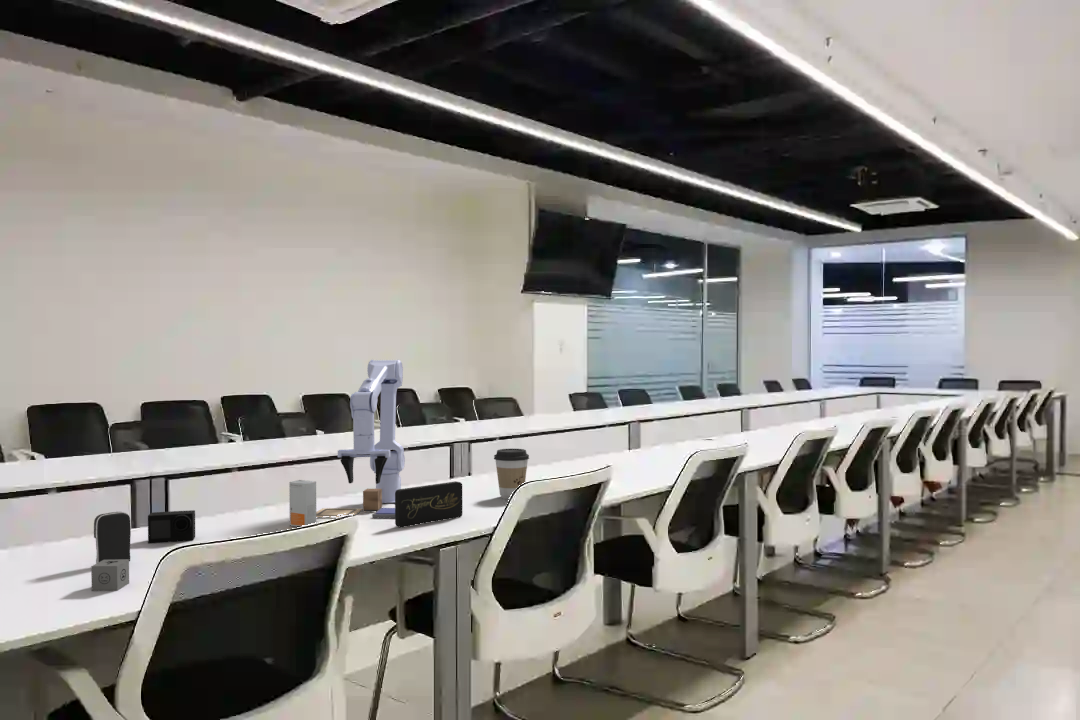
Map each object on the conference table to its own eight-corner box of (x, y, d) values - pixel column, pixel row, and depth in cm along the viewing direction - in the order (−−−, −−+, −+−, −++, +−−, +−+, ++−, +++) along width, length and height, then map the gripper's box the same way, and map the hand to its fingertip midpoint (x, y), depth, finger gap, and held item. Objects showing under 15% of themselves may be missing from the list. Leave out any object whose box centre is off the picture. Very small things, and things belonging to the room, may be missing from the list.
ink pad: (380, 511, 239) (380, 507, 239) (411, 512, 238) (411, 507, 238) (372, 518, 230) (372, 513, 230) (403, 518, 229) (403, 513, 229)
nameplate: (399, 528, 218) (398, 490, 217) (395, 527, 219) (395, 489, 219) (462, 517, 232) (462, 481, 232) (458, 516, 233) (458, 480, 233)
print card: (322, 509, 243) (322, 507, 242) (362, 509, 242) (362, 508, 242) (308, 518, 231) (308, 516, 231) (350, 518, 230) (350, 516, 230)
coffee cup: (514, 502, 253) (514, 453, 253) (486, 498, 260) (486, 450, 260) (536, 496, 262) (536, 449, 262) (509, 492, 269) (509, 447, 269)
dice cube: (129, 583, 167) (128, 559, 167) (117, 591, 162) (117, 565, 162) (104, 584, 167) (103, 559, 167) (91, 591, 162) (91, 566, 162)
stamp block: (367, 508, 244) (367, 488, 244) (381, 508, 244) (381, 488, 244) (363, 511, 240) (363, 491, 239) (378, 511, 239) (377, 491, 239)
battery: (125, 559, 186) (124, 509, 186) (131, 562, 184) (131, 511, 183) (92, 565, 181) (91, 513, 181) (98, 568, 178) (97, 516, 178)
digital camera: (146, 544, 200) (146, 516, 200) (150, 539, 205) (150, 512, 205) (192, 542, 203) (192, 513, 203) (195, 537, 208) (195, 509, 208)
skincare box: (288, 526, 220) (288, 481, 220) (300, 523, 224) (300, 479, 224) (305, 528, 217) (305, 483, 217) (317, 525, 221) (316, 481, 221)
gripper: (333, 436, 226) (334, 485, 226) (385, 436, 225) (386, 485, 225) (341, 433, 233) (342, 480, 233) (392, 433, 232) (392, 481, 233)
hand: (364, 482), depth 230 cm, fingers open, 7 cm apart
